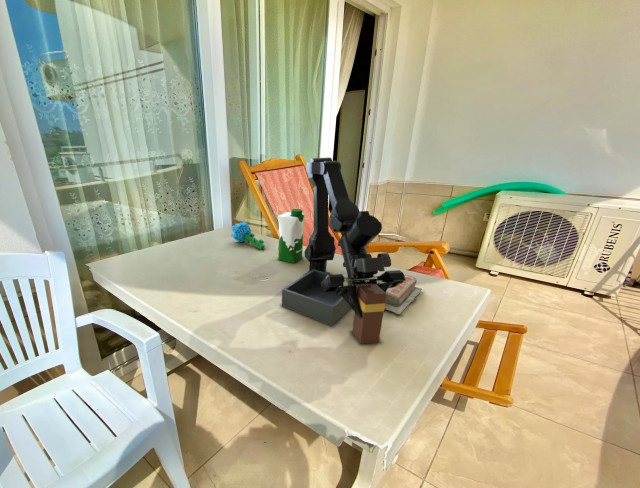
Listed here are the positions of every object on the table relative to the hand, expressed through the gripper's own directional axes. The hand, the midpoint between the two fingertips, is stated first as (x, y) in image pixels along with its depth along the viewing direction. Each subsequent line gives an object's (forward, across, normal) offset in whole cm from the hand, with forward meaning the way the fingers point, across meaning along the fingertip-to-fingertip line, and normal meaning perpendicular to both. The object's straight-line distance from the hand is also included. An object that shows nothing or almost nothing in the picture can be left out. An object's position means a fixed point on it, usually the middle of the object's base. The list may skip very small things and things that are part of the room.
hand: (371, 317), depth 69 cm
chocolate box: (+4, 0, +6) cm, 7 cm away
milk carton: (-33, -6, +42) cm, 54 cm away
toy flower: (-47, -20, +56) cm, 76 cm away
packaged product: (-8, +17, +18) cm, 26 cm away
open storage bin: (-8, -5, +18) cm, 20 cm away
